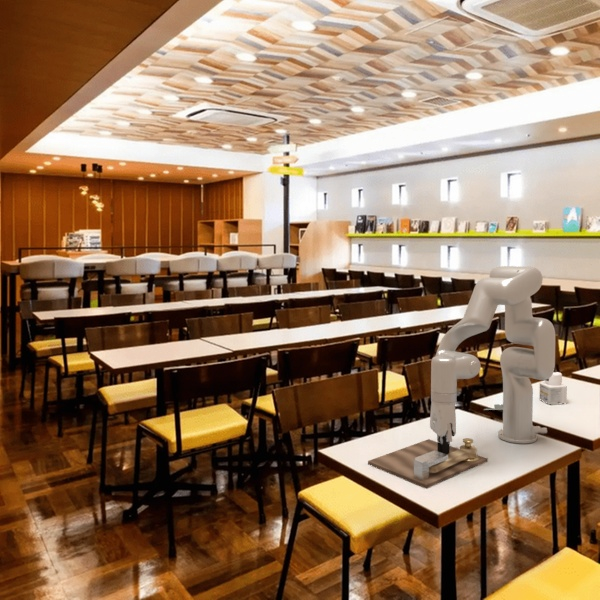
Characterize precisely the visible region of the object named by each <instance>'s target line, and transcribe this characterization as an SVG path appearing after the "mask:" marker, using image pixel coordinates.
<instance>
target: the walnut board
mask: <svg viewBox="0 0 600 600" xmlns="http://www.w3.org/2000/svg"><path fill="white" fill-rule="evenodd" d="M459 449H460V448H457V447H453V446H450V449H449V453H452V452H454V451H456V450H459ZM434 450H435V451H438V441H437V440H433V439H429V438H428V439H426V440H422V441H420V442H417V443H415V444H412V445H409V446H405V447H403V448H400V449H397V450H395V451H392V452H389V453H387V454H384V455H381V456H379V457H378V456H377V457H375V458H373V459H370V460H368V461H367V465H369V464H371V465H372V466H371V465H370V466H371V467H374V466H375V467H374V468H376V467H377V469H379V470H381V469H382V470H381V471H383V470H384V472H386V471H387V473H388V472H389V474H390V475H393V476H395V475H396V477H398V478H401V479H402V478H403V480H405V481H408V482H409V483H412V484H415V485H417V486H420V487H421V488H424V489H428V488H431V487H434V486H435V485H438V484H440V483H442V482H444V481H446V480H449V479H452V478H454V477H456V476H458V475H460V474H463V473H465V472H468V471H469V470H471V469H475V468H476V467H478V466H481V465H483V464H485V463H488V458H487V457H484V456H481V455H478V454H476V455H477V456H478V457H479V459H478V460H477V461H474V462H466V461H460V462H458V463H456V464H454V465H451V466H449V467H447V468H445V469H443V470H441V471H438V472H436V473H430V472H429V478H427V479H424V480H420V479H417V478H415V477H414V459H415V458H416V457H418V456H421V455H424V454H426V453H429V452H432V451H434Z"/></svg>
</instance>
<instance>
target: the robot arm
mask: <svg viewBox="0 0 600 600" xmlns="http://www.w3.org/2000/svg"><path fill="white" fill-rule="evenodd" d="M543 281H544V280H543V274H542V272H541V271H540V269H538V268H536V267H532V266H515V265H511V266H509V265H505V266H503V265H501V266H496V267H494V268H492V269H491V270H490V271H489V277H483V278H481V279H479V280H478V281H477V282H476V284H475V285H474V288H473V292H472V293H471V296H470V297H469V298H470V299H469V301H468V304H467V307H466V309H465V312H464V315H463V317H462V319H461V320H459V321H458V322H457V323H455V324H454V325H453V326H452V327H451V328H450V329H449V330H447V332H446V333H445V334H444V335H443V336H442V338H441V340H440V343H439V344H438V345H439V346H438V348H437V350H436V353H435V355H434V356H433V357H432V358H431V363H430V364H431V365H430V366H431V367H430V369H431V370H430V381H431V382H430V401H431V404H430V414H429V415H430V417H429V428H430V429H431V430H432V432H434V433H435V434H436V442H438V452H441V453H444V454H449V449H450V445H451V442H453V437H455V436H456V433H457V420H456V419H457V416H456V404H457V401H458V400H457V396H458V395H457V393H458V391H457V389H458V385H457V384H458V383H457V382H458V380H464V379H465V380H469V379H472V378H473V379H474V378H475V377H476V376H477V375H478V374H479V373H480V371H481V368H482V367H481V362H480V360H479V358H478V357H476V356H475V355H473V354H470V353H465V352H460V351H456V349H457V348H458V347H459V345H460V344H461V343H462V342H464V341H465V340H467V339H468V338H470V337H473V336H476V335H478V334H481V333H483V332H487V331H488V330H489V329H490V327H491V324H492V322H493V319H494V315H495V313H496V310H497V308H498V306H500V305H501V306H504V333H505V338H506V340H507V341H508V342H510V343H513V344H516V345H523V346H530V347H531V346H532V347H533V349H532V348H527V347H520V346H511V347H507V348H505V349H504V350H503V351H502V352H501V354H500V358H499V362H500V368H501V369H500V370H501V375H502V404H503V410H502V429H500V430H499V431H497V437H498V438H499V439H500V440H502V441H505V442H508V443H514V444H522V445H523V444H532V443H535V442H537V440H538V434H548V428H547V427H541V425H536V426H535V425H533V404H534V403H533V401H534V399H533V398H534V397H533V396H534V388H533V384H532V381H531V379H534V380H540V381H545V380H546V379H549V378H550V377H551V376H552V374H553V372H554V371H555V366H556V329H555V327H554V324H553V323H552V322H551V321H550V320H549V319H547V318H543V317H534V316H533V303H532V302H533V301H532V298H531V296H533V295H535V294H536V293H537V292H538V291H539V290H540V288H541V287H542V285H543Z"/></svg>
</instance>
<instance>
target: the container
mask: <svg viewBox="0 0 600 600" xmlns="http://www.w3.org/2000/svg"><path fill="white" fill-rule="evenodd" d="M562 381H563V374H562V373H561V372H560V371H558V370H554V372H553V374H552V376H551V377H550V378H549V379H546V380H544V382H542V381H541V382H539V400H540V399H541V400H543V401H544V402H547V403H548V404H558V405H560V404H559V403H566V404H567V400H568V399H567V398H568V396H567V395H568V393H567V391H568V387H567V385H565V384H564V383H563V382H562ZM541 400H540V401H541ZM543 401H542V402H543ZM544 402H543V403H544ZM548 404H547V405H548Z"/></svg>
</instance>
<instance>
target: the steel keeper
mask: <svg viewBox="0 0 600 600" xmlns="http://www.w3.org/2000/svg"><path fill="white" fill-rule="evenodd" d="M447 459H448V455H447V454H444V453H441V452H438V451H435V450H434V451H432V452H429V453H426V454H424V455H421V456H418V457H416V458H415V459H414V477H415V478H417V479H420V480H424V479H427V478H429V467H430V466H432V465H435V464H437V463H440V462H442V461H445V460H447Z"/></svg>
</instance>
